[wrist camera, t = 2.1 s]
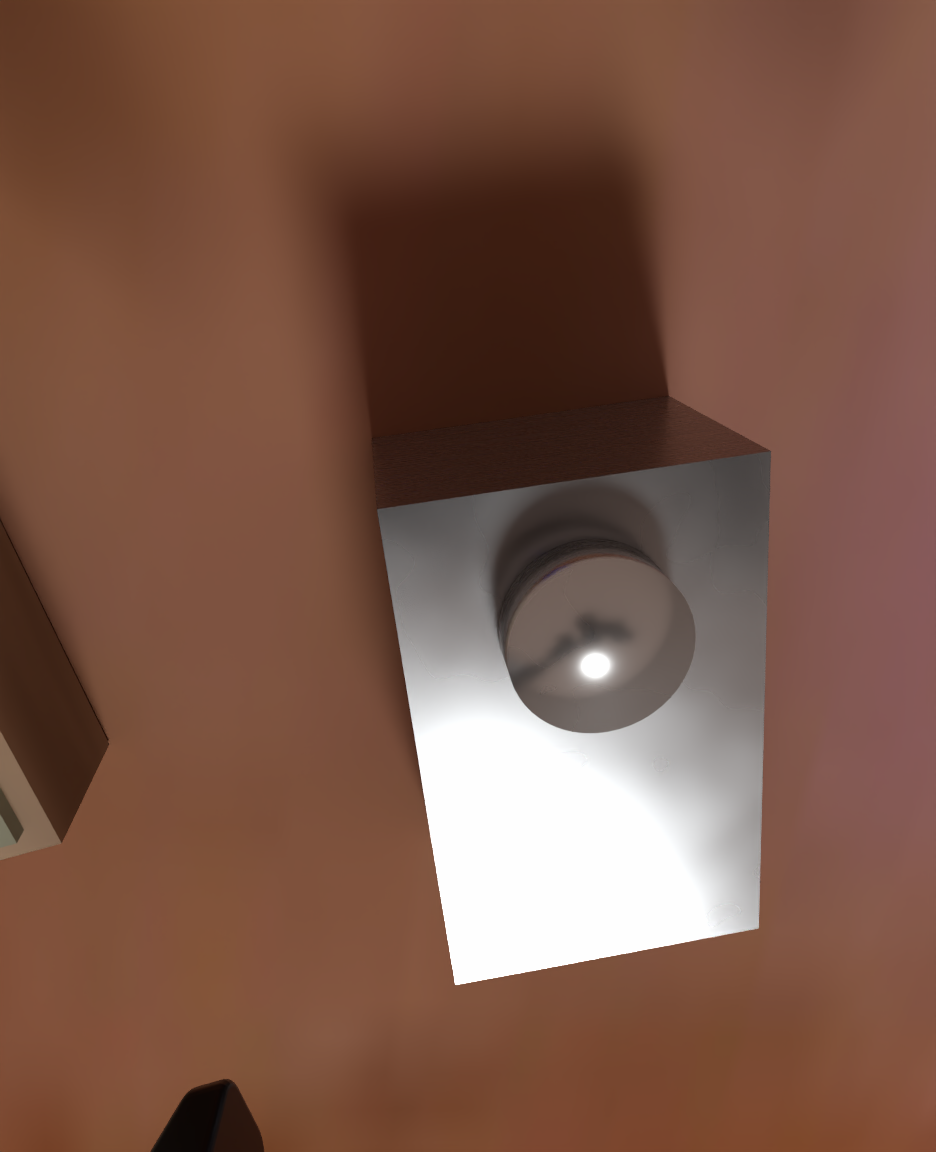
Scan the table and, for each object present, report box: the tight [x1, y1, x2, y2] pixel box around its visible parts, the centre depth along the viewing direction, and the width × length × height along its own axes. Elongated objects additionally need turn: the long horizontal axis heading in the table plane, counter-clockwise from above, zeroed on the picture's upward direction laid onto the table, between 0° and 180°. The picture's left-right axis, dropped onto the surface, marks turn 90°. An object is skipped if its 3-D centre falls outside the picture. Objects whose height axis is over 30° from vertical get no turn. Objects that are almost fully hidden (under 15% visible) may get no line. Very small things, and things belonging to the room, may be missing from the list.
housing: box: [372, 396, 771, 985], centre depth 14 cm, size 5×8×5 cm, turn 6°
